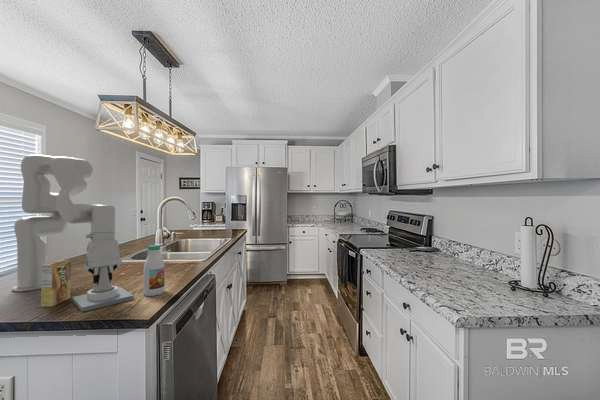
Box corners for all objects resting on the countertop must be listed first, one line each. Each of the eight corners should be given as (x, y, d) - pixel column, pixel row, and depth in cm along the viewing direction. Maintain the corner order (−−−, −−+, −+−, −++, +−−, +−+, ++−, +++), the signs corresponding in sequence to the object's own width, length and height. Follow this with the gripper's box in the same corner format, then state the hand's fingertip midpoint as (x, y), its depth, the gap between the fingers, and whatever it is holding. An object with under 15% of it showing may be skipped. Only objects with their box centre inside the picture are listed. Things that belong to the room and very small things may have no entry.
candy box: (59, 298, 106) (59, 259, 106) (71, 298, 107) (71, 259, 107) (40, 307, 97) (40, 264, 98) (53, 306, 98) (53, 264, 98)
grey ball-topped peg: (101, 297, 101) (102, 262, 101) (89, 296, 102) (89, 262, 102) (115, 292, 107) (115, 259, 107) (103, 291, 108) (103, 258, 108)
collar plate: (72, 300, 104) (72, 290, 104) (120, 290, 116) (120, 281, 116) (81, 311, 93) (81, 300, 93) (133, 299, 105) (133, 289, 105)
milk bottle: (140, 297, 107) (141, 247, 108) (146, 291, 115) (146, 244, 115) (162, 295, 109) (162, 246, 110) (166, 289, 117) (166, 243, 117)
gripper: (78, 239, 96) (78, 291, 96) (130, 235, 108) (129, 280, 108) (74, 237, 101) (73, 286, 101) (124, 233, 113) (123, 277, 113)
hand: (102, 283), depth 105 cm, fingers closed on grey ball-topped peg, 3 cm apart
